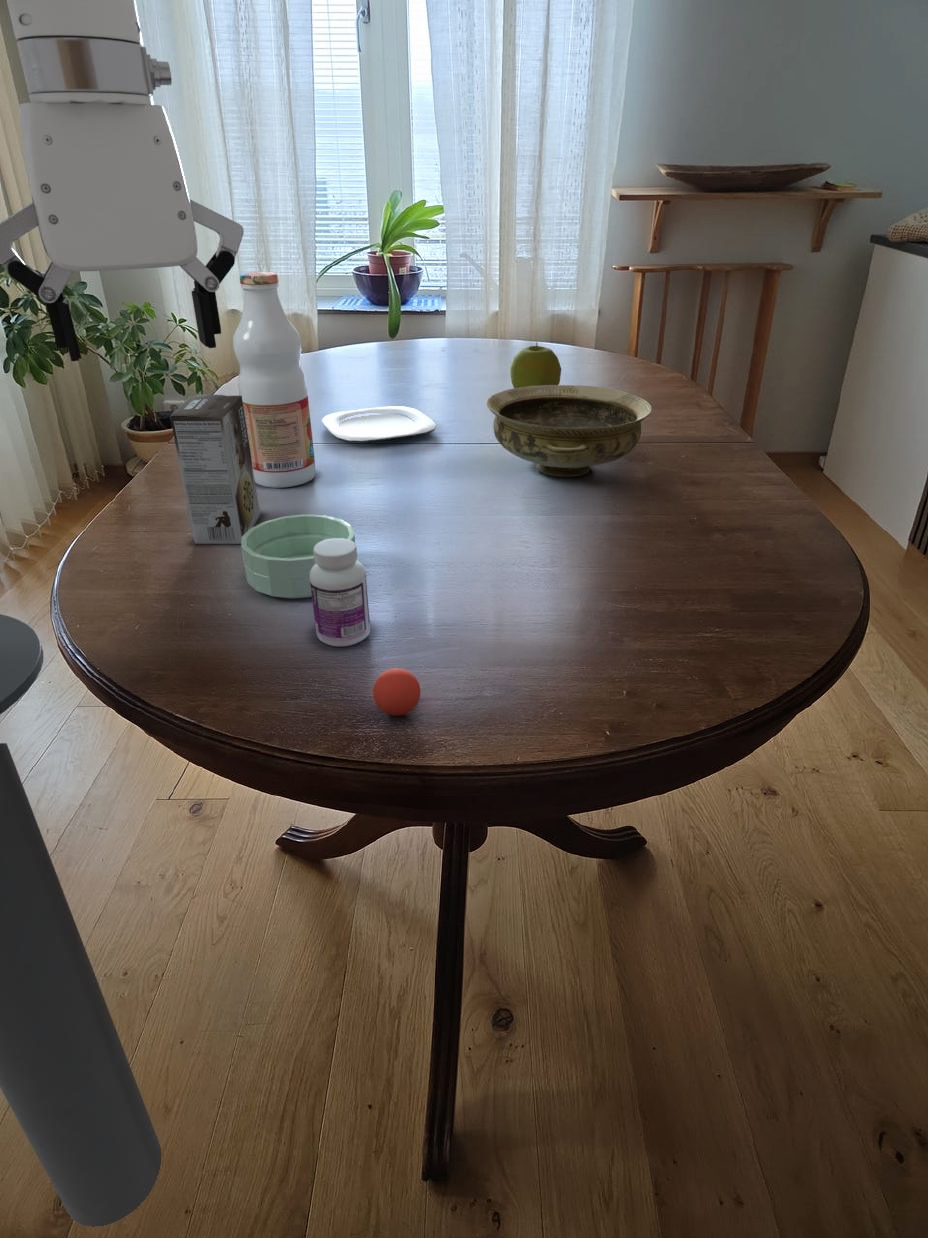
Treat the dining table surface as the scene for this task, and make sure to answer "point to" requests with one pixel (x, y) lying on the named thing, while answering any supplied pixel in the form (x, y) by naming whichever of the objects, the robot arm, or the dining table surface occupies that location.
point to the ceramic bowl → (567, 425)
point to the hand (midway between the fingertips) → (143, 350)
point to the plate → (378, 424)
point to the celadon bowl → (287, 552)
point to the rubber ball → (396, 691)
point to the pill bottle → (339, 593)
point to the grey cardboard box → (216, 467)
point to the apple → (535, 367)
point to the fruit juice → (273, 387)
